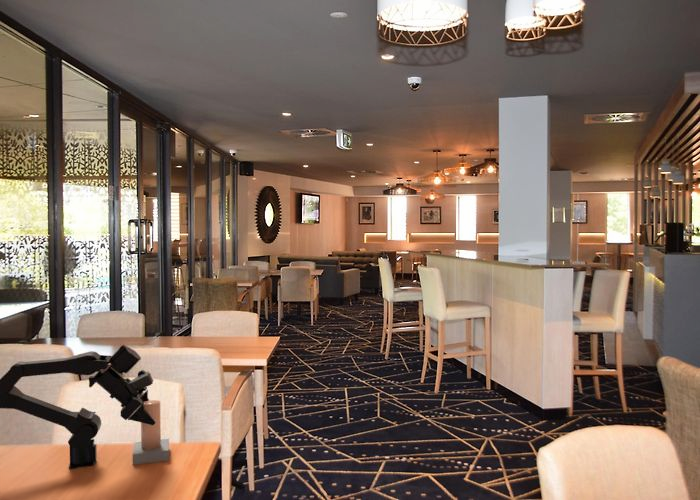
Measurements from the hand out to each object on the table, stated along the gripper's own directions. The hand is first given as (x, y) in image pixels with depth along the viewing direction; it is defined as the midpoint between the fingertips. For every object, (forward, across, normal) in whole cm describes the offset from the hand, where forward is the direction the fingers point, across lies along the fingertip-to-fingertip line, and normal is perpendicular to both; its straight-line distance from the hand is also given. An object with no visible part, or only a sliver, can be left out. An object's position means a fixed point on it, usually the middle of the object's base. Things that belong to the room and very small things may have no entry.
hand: (155, 419), depth 175 cm
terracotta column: (+5, 0, +7) cm, 8 cm away
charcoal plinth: (+7, 0, +9) cm, 11 cm away
